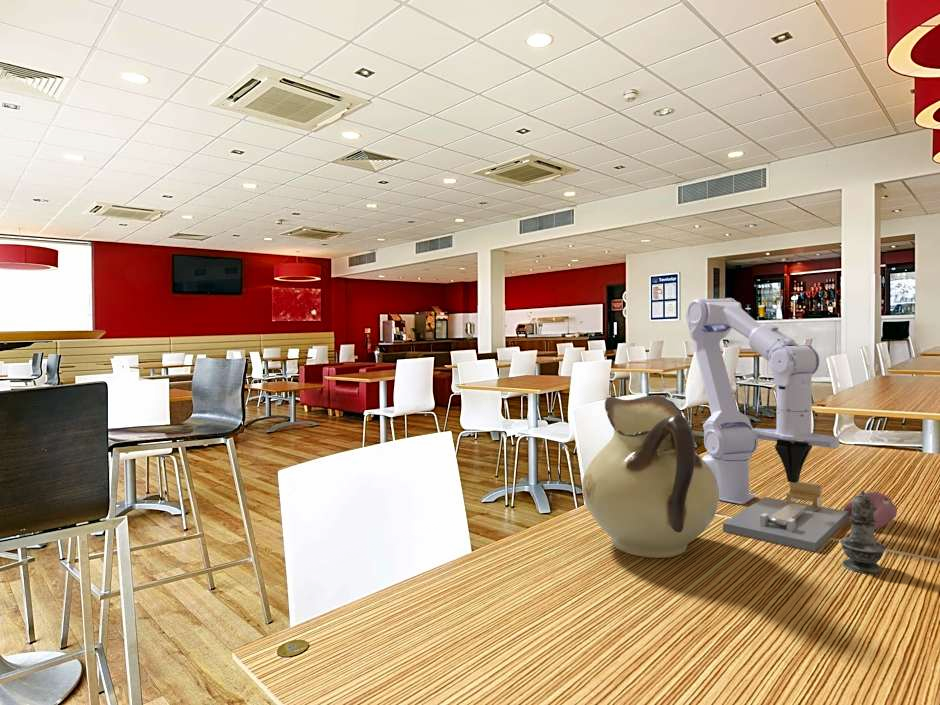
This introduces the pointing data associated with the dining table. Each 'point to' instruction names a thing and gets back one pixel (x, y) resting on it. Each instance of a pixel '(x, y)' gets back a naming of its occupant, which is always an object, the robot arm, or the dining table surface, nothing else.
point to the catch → (805, 493)
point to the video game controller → (878, 509)
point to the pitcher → (650, 480)
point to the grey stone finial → (862, 538)
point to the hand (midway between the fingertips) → (793, 481)
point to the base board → (798, 532)
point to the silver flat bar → (787, 514)
